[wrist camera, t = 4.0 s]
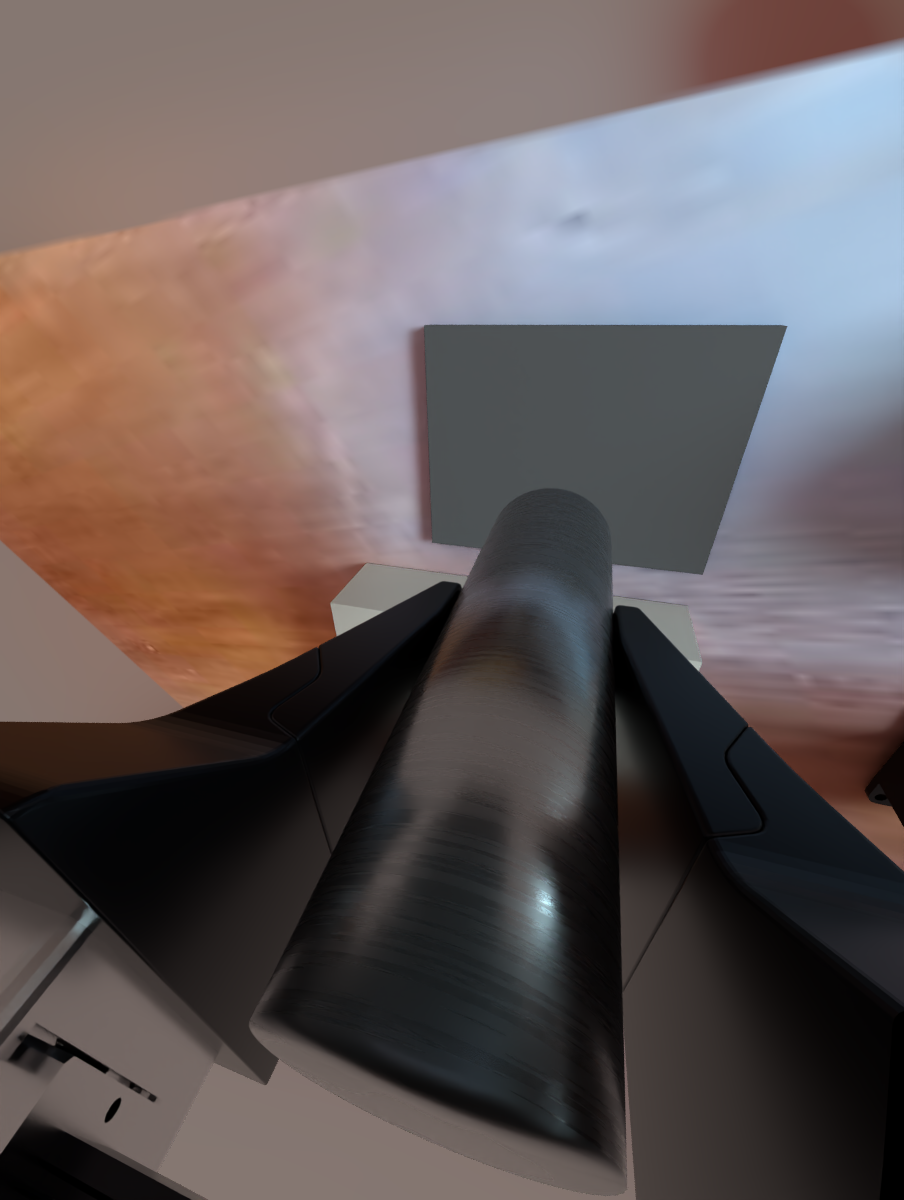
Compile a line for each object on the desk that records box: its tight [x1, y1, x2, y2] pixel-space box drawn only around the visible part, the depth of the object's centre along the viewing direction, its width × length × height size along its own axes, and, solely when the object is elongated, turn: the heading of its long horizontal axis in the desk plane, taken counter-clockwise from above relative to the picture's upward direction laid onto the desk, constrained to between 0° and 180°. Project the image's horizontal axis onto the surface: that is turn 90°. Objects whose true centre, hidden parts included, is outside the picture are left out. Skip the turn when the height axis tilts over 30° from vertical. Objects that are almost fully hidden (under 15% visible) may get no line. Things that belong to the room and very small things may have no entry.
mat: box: [424, 325, 787, 575], centre depth 18 cm, size 12×9×1 cm
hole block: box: [330, 563, 702, 671], centre depth 24 cm, size 16×9×4 cm, turn 90°
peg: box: [249, 488, 627, 1196], centre depth 8 cm, size 3×3×10 cm
